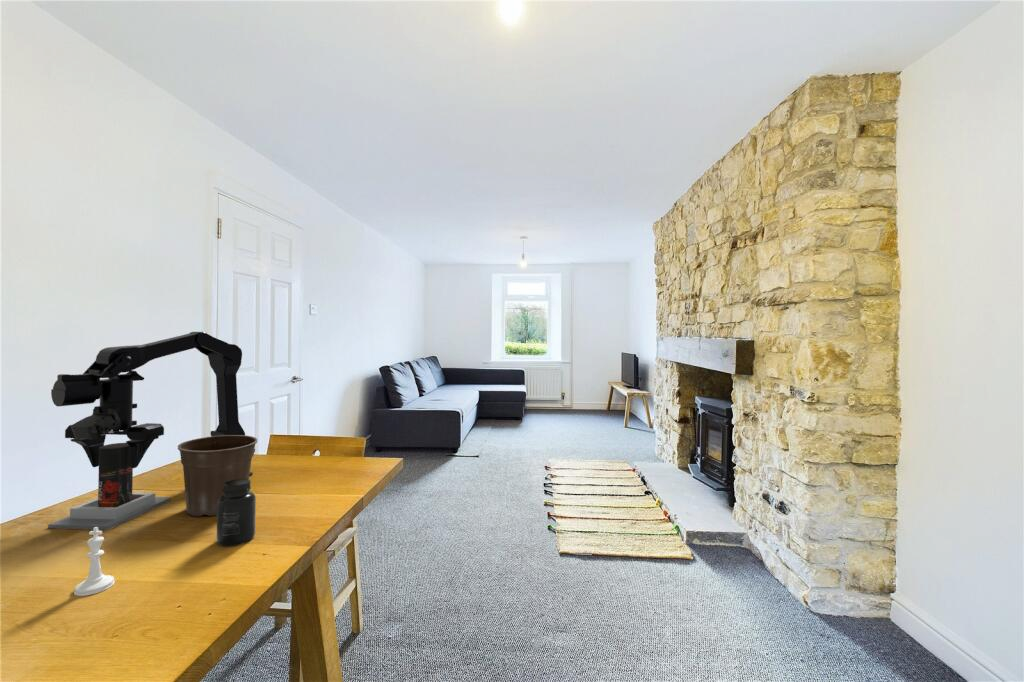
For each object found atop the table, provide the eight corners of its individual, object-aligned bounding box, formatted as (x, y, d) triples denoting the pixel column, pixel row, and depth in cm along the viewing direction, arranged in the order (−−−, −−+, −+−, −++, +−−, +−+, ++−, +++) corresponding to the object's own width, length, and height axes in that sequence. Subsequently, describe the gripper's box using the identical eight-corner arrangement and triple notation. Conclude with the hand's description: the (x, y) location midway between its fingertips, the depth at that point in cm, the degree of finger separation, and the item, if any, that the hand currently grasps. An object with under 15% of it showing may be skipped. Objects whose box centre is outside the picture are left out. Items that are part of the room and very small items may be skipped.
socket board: (171, 500, 110) (171, 488, 110) (107, 529, 93) (107, 515, 93) (120, 498, 110) (120, 487, 110) (48, 528, 93) (48, 514, 93)
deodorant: (138, 505, 104) (139, 443, 104) (113, 515, 98) (114, 449, 98) (117, 503, 105) (118, 442, 105) (90, 513, 99) (91, 448, 99)
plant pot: (270, 502, 110) (272, 439, 110) (202, 526, 95) (204, 454, 95) (230, 491, 117) (231, 432, 117) (161, 512, 102) (162, 444, 102)
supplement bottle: (262, 535, 92) (264, 479, 92) (232, 549, 86) (234, 489, 86) (239, 529, 94) (240, 475, 94) (208, 543, 88) (209, 484, 88)
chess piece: (91, 579, 74) (93, 521, 74) (122, 578, 75) (123, 521, 75) (64, 596, 70) (65, 534, 69) (97, 595, 70) (98, 534, 70)
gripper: (39, 405, 93) (37, 477, 93) (124, 407, 93) (123, 479, 93) (90, 398, 104) (88, 462, 105) (166, 400, 104) (165, 464, 104)
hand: (115, 467), depth 101 cm, fingers open, 9 cm apart
